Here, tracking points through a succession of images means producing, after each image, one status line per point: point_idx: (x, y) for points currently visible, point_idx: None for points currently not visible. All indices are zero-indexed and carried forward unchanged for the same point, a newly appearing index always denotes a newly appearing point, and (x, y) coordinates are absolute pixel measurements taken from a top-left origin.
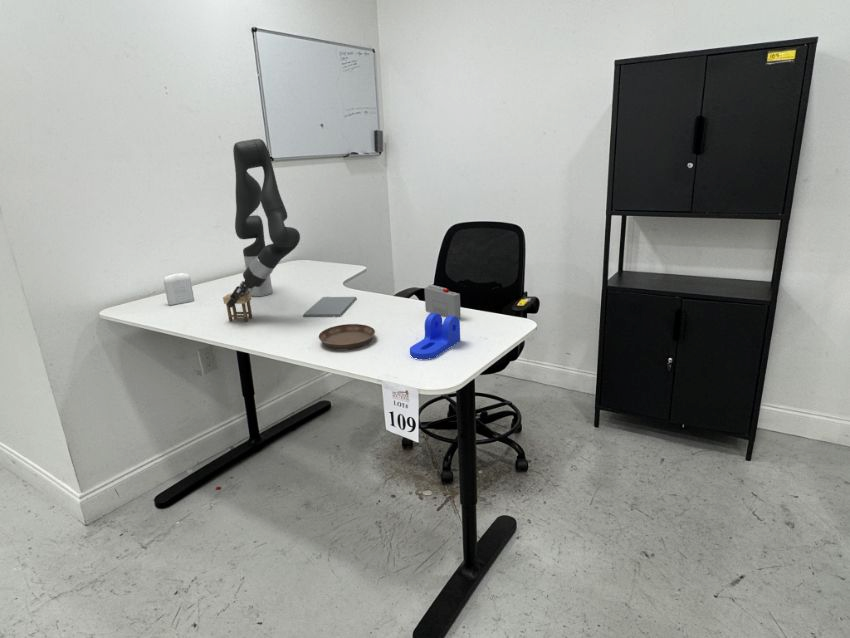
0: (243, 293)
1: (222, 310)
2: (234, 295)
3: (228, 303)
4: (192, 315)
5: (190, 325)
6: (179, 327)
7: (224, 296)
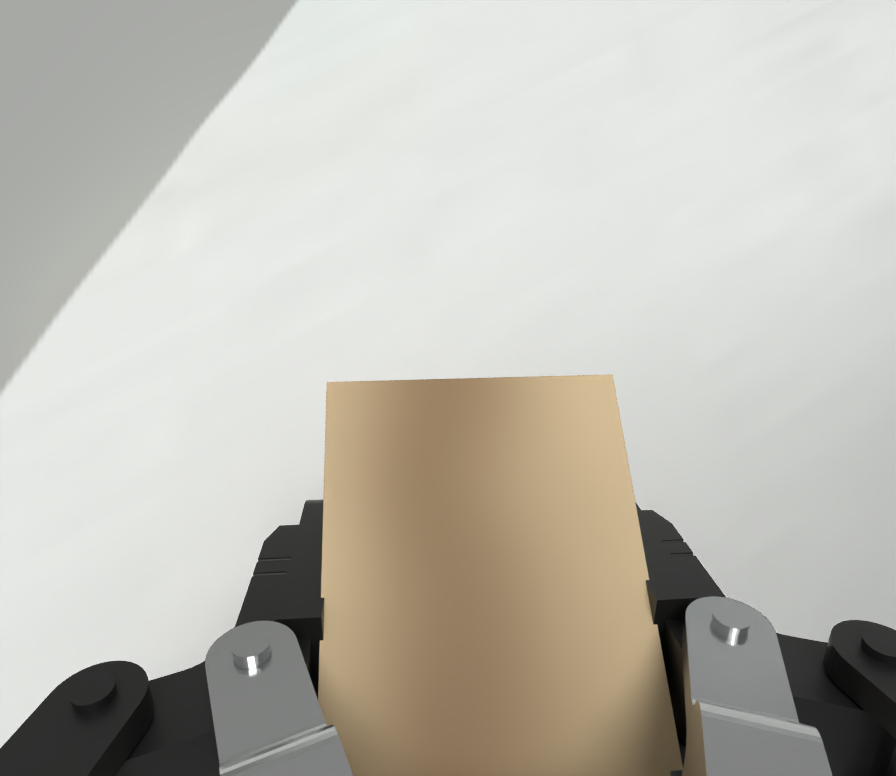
0: (647, 711)
1: (718, 250)
2: (178, 750)
3: (262, 549)
4: (540, 84)
5: (274, 195)
6: (226, 139)
7: (389, 381)
